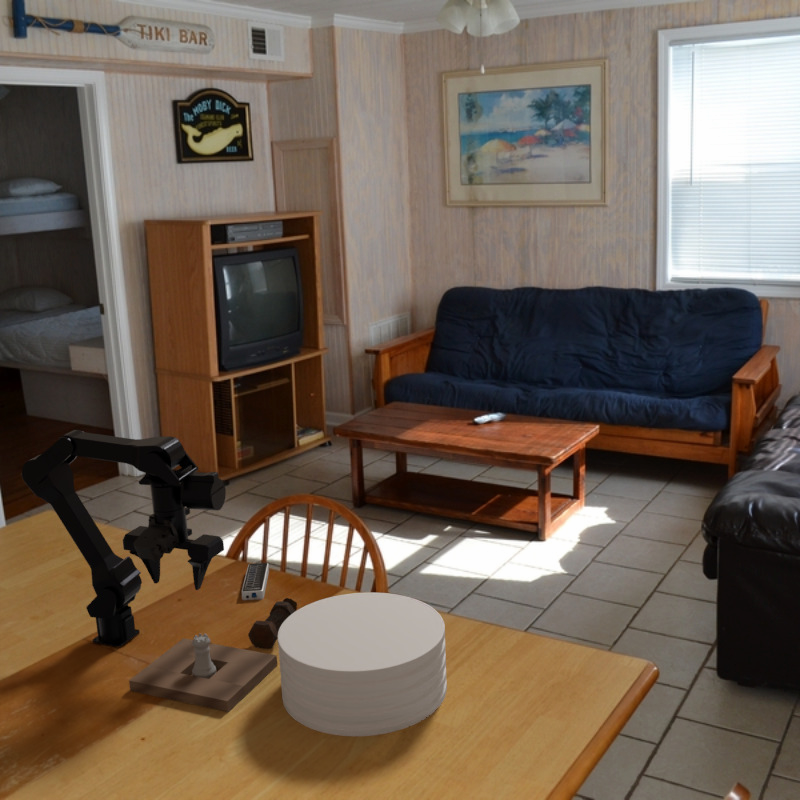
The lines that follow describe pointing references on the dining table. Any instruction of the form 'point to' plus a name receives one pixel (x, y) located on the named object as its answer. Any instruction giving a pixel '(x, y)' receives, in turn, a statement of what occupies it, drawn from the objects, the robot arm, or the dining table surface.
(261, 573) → the multiport hub
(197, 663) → the rook chess piece
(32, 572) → the dining table surface
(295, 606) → the bolt
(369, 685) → the plate stack
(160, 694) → the socket board
